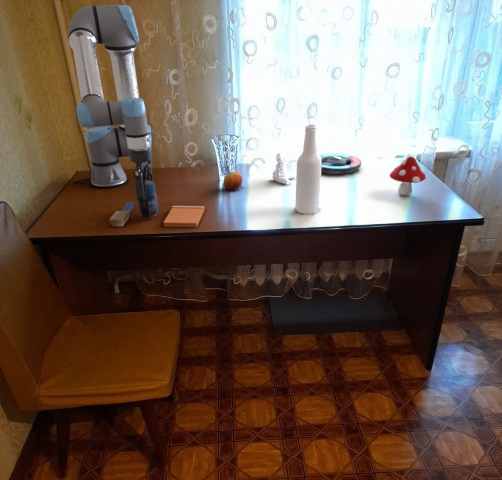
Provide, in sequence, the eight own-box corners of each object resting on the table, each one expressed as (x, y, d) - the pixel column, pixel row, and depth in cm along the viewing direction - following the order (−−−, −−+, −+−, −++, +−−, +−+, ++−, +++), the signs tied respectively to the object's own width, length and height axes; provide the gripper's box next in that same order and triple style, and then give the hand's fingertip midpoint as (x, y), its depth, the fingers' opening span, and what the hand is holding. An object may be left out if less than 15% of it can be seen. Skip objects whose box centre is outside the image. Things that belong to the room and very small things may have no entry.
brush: (110, 226, 173) (109, 219, 171) (126, 207, 187) (124, 200, 185) (123, 226, 172) (121, 219, 170) (137, 208, 187) (136, 201, 185)
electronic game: (300, 167, 224) (300, 156, 221) (335, 157, 235) (336, 147, 232) (335, 179, 209) (335, 168, 206) (371, 168, 220) (372, 158, 217)
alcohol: (294, 205, 185) (297, 122, 167) (317, 205, 185) (322, 122, 167) (295, 214, 178) (298, 129, 160) (319, 214, 178) (325, 128, 160)
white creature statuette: (288, 185, 204) (289, 156, 197) (269, 183, 206) (269, 154, 199) (294, 178, 211) (295, 150, 204) (275, 176, 214) (275, 148, 207)
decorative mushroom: (394, 186, 200) (400, 149, 191) (427, 192, 194) (435, 154, 185) (381, 196, 191) (386, 158, 182) (415, 203, 184) (422, 163, 176)
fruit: (244, 189, 197) (234, 172, 194) (229, 198, 200) (218, 181, 197) (248, 182, 203) (238, 166, 200) (233, 191, 207) (223, 175, 203)
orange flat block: (163, 226, 172) (163, 221, 171) (173, 209, 184) (173, 204, 183) (196, 227, 171) (196, 222, 169) (204, 210, 183) (204, 205, 182)
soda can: (146, 219, 174) (141, 186, 167) (136, 213, 178) (131, 181, 171) (162, 213, 178) (158, 181, 170) (152, 208, 182) (148, 177, 175)
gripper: (142, 156, 156) (152, 223, 169) (157, 140, 172) (165, 202, 185) (119, 156, 156) (131, 223, 170) (137, 140, 172) (146, 202, 186)
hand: (149, 212), depth 178 cm, fingers closed on soda can, 7 cm apart
